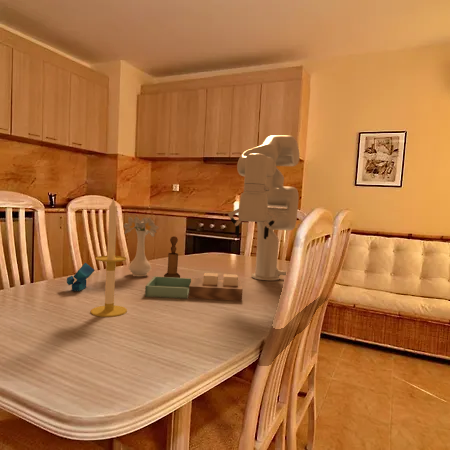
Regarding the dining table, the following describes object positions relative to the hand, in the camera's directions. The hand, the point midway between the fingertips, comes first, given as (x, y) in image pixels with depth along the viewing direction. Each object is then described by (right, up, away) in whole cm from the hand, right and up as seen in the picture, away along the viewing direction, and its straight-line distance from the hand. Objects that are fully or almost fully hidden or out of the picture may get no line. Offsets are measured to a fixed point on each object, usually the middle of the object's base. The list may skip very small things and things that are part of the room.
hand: (251, 238), depth 130 cm
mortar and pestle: (-31, -18, +19) cm, 40 cm away
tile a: (-7, -16, +1) cm, 18 cm away
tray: (-29, -19, +1) cm, 35 cm away
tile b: (-14, -16, +1) cm, 22 cm away
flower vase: (-46, -17, +26) cm, 56 cm away
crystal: (-60, -18, -3) cm, 62 cm away
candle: (-42, -20, -25) cm, 53 cm away
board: (-13, -20, +1) cm, 24 cm away
